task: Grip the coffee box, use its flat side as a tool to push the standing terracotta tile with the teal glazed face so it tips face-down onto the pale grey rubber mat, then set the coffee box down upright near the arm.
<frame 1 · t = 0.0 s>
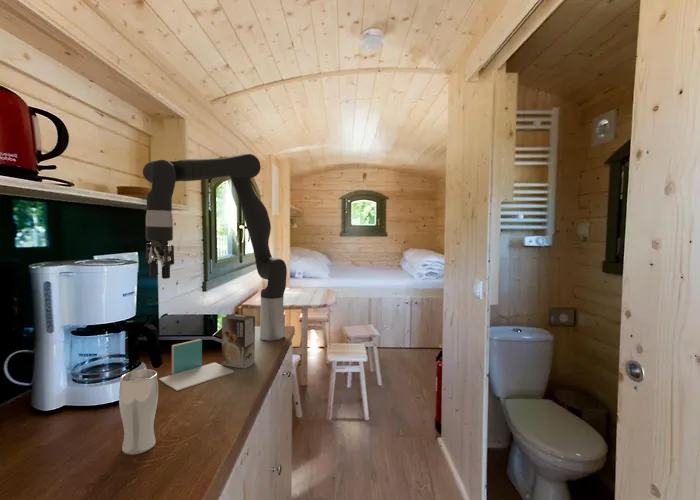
hand: (159, 277, 115), 29 cm above the worktop, tool pointing down, fingers open, 8 cm apart
tile: (187, 370, 115), on the worktop
mat: (197, 375, 111), on the worktop
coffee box: (238, 364, 122), on the worktop
beer glass: (139, 446, 76), on the worktop
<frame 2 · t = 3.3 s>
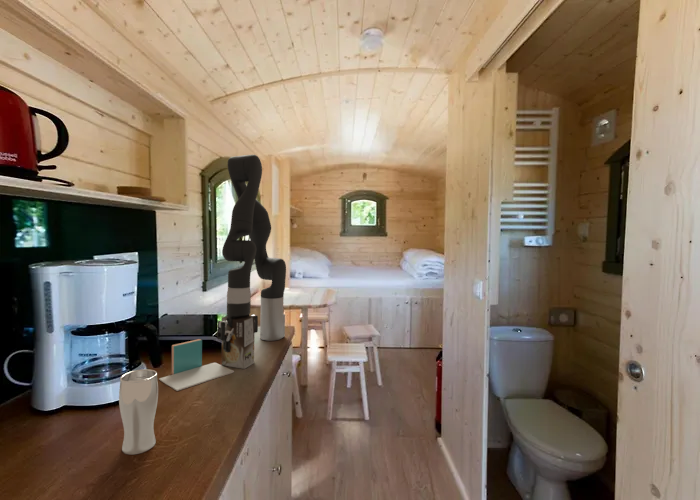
hand: (238, 348, 121), 5 cm above the worktop, tool pointing down, fingers closed on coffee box, 7 cm apart
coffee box: (238, 364, 122), on the worktop, touching gripper
everything else where it was.
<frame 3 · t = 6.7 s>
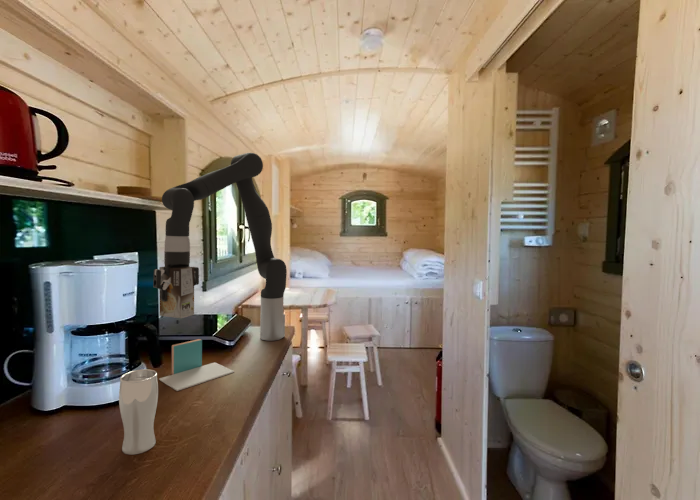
hand: (176, 299, 120), 21 cm above the worktop, tool pointing down, fingers closed on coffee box, 7 cm apart
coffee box: (176, 315, 120), point 16 cm above the worktop, touching gripper
everything else where it was.
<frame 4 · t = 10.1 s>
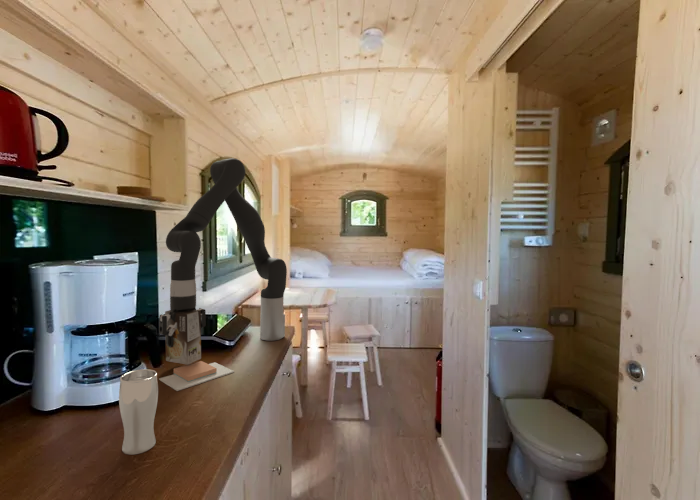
hand: (183, 343, 117), 8 cm above the worktop, tool pointing down, fingers closed on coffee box, 7 cm apart
tile: (187, 367, 115), point 1 cm above the worktop, tilted 90°, touching mat
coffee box: (183, 360, 117), point 2 cm above the worktop, touching gripper
everything else where it was.
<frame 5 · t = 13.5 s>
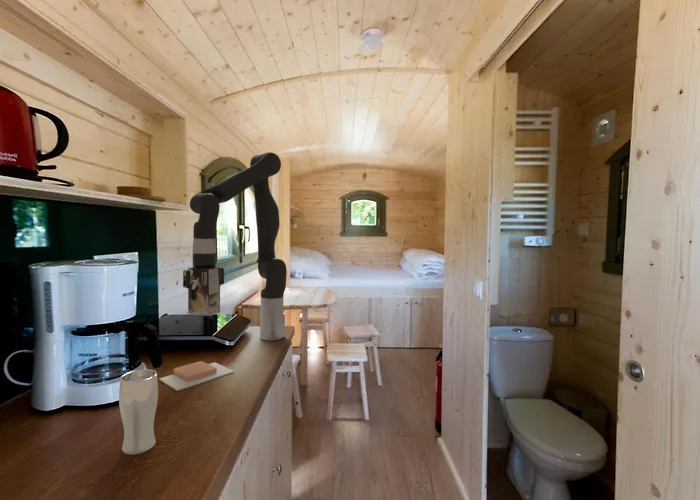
hand: (204, 298, 127), 20 cm above the worktop, tool pointing down, fingers closed on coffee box, 7 cm apart
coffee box: (204, 313, 127), point 15 cm above the worktop, touching gripper
everything else where it was.
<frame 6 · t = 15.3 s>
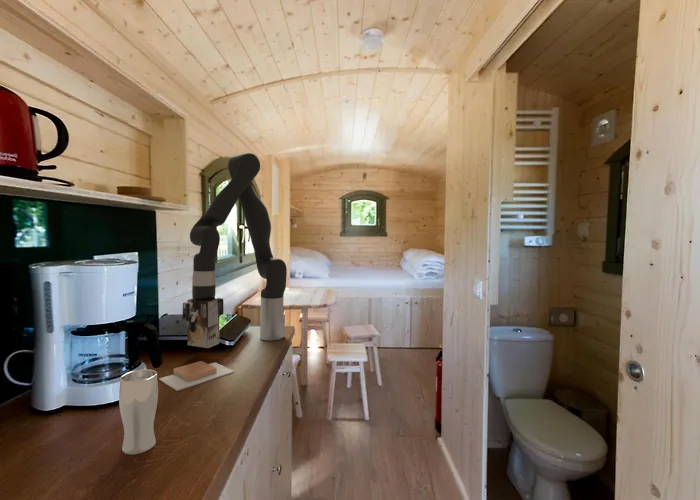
hand: (203, 329, 128), 9 cm above the worktop, tool pointing down, fingers closed on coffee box, 7 cm apart
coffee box: (203, 344, 128), point 4 cm above the worktop, touching gripper
everything else where it was.
when the fingers open (6 cm above the worktop, at t = 16.8 s): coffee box stays where it is, on the worktop.
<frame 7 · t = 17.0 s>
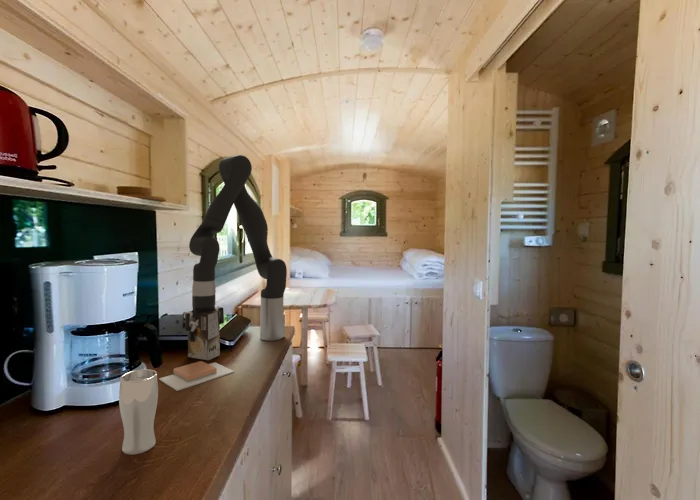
hand: (203, 339, 128), 6 cm above the worktop, tool pointing down, fingers open, 8 cm apart
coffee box: (203, 356, 128), on the worktop
everything else where it was.
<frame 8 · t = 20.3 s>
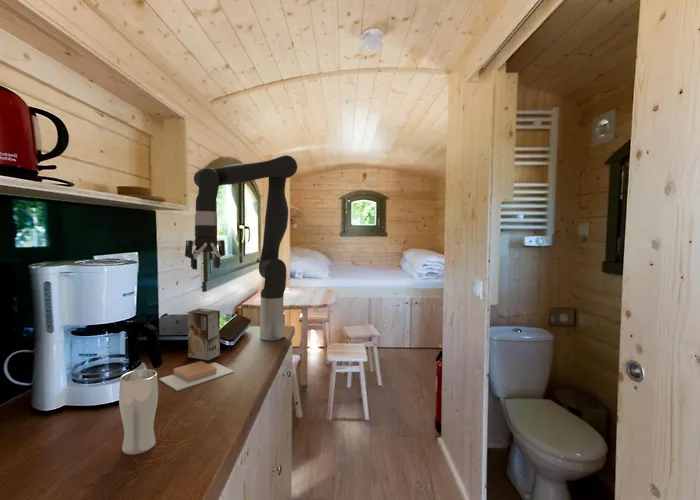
hand: (205, 268, 133), 30 cm above the worktop, tool pointing down, fingers open, 8 cm apart
nothing on the worktop moved.
at the end: tile tilted 90°; tile touching mat; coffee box inside the target area (0.1 cm from its centre), on the worktop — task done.
